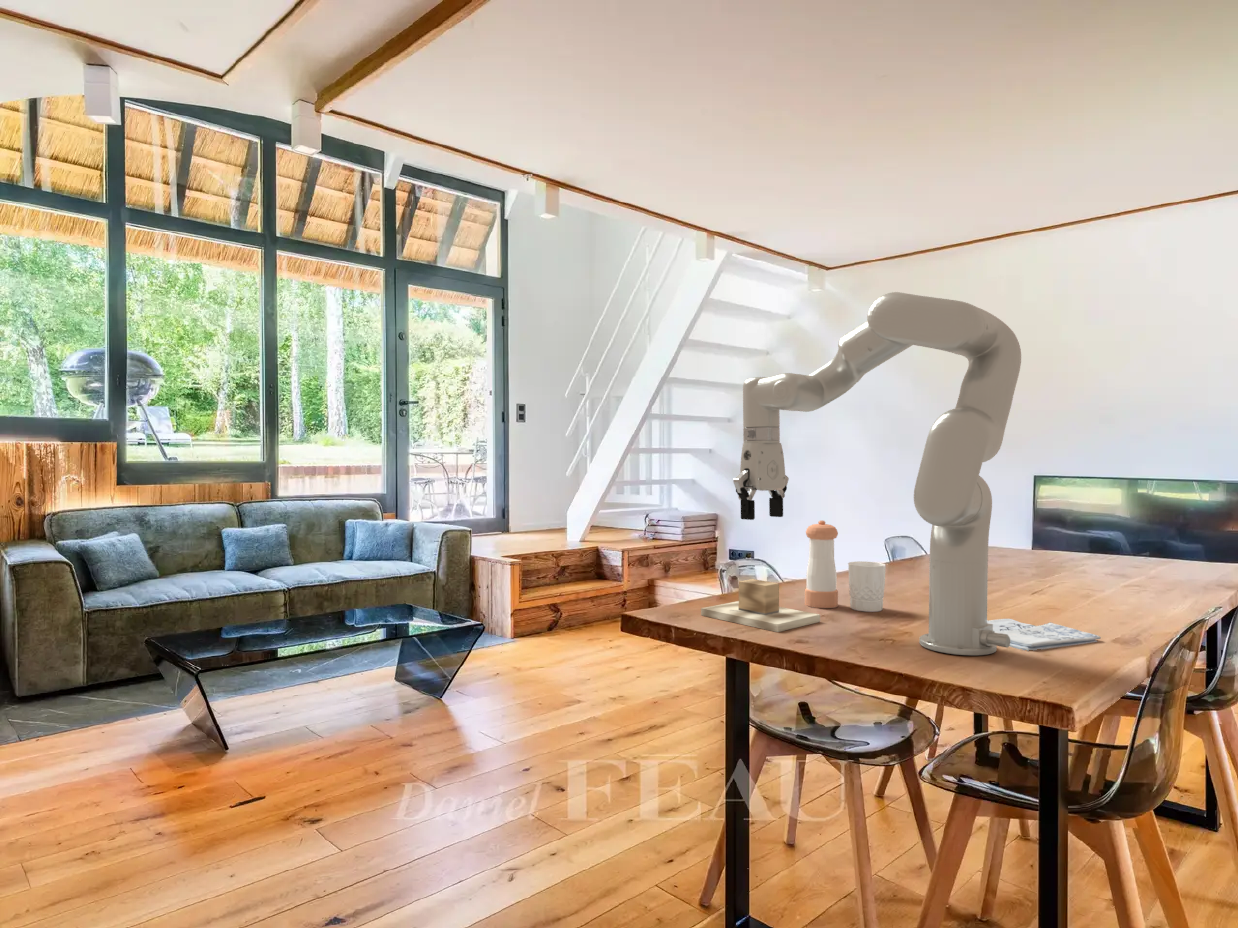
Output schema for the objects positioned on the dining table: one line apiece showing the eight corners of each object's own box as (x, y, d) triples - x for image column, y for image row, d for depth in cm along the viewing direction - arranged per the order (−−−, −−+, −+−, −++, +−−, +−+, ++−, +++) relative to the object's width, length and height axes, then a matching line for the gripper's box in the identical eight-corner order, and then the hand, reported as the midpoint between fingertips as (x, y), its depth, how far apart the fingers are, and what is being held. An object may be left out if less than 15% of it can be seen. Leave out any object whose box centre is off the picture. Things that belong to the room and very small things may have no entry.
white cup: (847, 611, 170) (847, 565, 170) (848, 604, 178) (848, 560, 178) (885, 613, 168) (886, 567, 168) (884, 606, 176) (885, 562, 175)
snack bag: (1028, 654, 137) (1028, 642, 137) (940, 630, 155) (940, 619, 155) (1103, 644, 144) (1103, 633, 144) (1010, 622, 163) (1010, 611, 163)
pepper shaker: (841, 608, 173) (842, 522, 173) (808, 608, 174) (809, 521, 173) (833, 601, 181) (833, 519, 180) (801, 601, 181) (802, 519, 181)
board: (820, 621, 160) (820, 614, 160) (777, 632, 151) (777, 624, 151) (743, 606, 175) (743, 599, 175) (701, 615, 166) (701, 608, 166)
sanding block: (778, 612, 162) (779, 583, 162) (765, 615, 159) (765, 585, 159) (752, 607, 167) (752, 579, 167) (738, 609, 164) (738, 581, 164)
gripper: (749, 435, 156) (750, 521, 156) (800, 436, 167) (801, 516, 167) (720, 436, 161) (721, 519, 161) (771, 437, 173) (772, 514, 173)
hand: (762, 517), depth 164 cm, fingers open, 9 cm apart
